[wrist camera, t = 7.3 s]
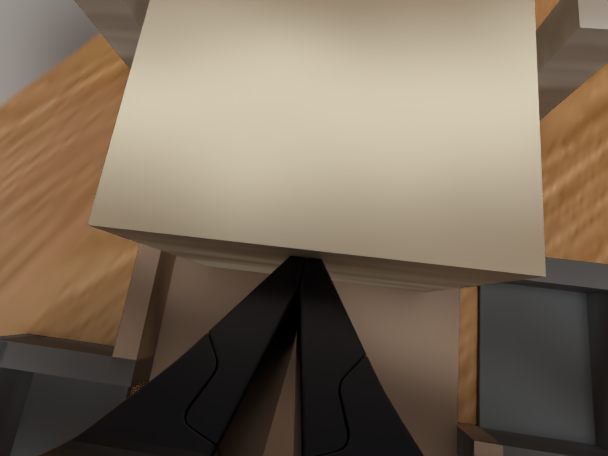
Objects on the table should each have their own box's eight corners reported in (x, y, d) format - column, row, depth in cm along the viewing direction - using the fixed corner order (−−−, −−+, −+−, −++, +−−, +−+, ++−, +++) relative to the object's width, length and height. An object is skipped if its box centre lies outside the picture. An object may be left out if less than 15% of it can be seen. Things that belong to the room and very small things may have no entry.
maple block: (426, 292, 15) (546, 276, 7) (206, 266, 15) (87, 224, 8) (436, 27, 18) (526, -191, 10) (253, 16, 18) (203, -195, 11)
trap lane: (634, 666, 12) (943, 1021, 6) (-32, 533, 14) (-292, 700, 8) (585, 24, 18) (714, -113, 12) (128, -4, 20) (48, -132, 14)
